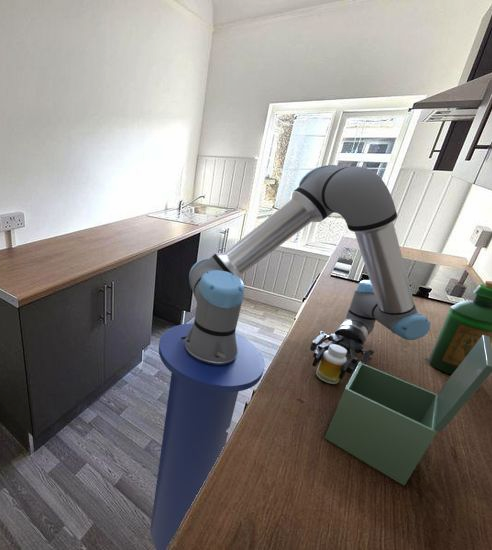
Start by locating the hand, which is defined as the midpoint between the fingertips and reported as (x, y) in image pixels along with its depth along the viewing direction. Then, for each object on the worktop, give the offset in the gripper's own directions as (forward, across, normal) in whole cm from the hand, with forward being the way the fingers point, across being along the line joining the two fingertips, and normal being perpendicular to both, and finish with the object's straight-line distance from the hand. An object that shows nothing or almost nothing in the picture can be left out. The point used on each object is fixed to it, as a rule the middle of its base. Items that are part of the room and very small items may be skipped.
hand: (328, 367), depth 76 cm
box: (+11, -12, -6) cm, 17 cm away
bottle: (-40, -23, -6) cm, 47 cm away
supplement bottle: (-5, 0, -6) cm, 8 cm away
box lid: (+11, -19, +15) cm, 26 cm away
